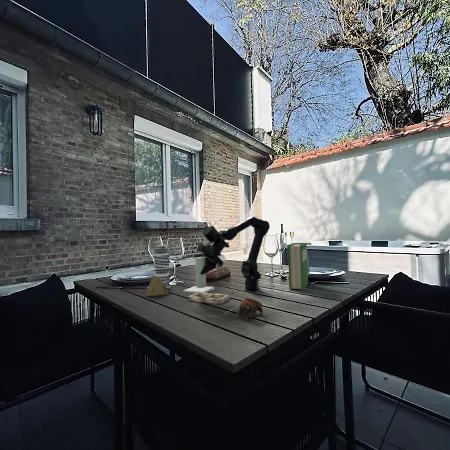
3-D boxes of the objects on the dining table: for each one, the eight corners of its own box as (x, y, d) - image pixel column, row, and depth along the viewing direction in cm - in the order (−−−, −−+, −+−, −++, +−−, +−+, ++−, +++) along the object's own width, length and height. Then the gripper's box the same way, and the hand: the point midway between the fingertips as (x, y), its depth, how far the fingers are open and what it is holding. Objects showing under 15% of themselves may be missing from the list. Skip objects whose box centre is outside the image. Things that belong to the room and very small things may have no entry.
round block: (207, 286, 140) (206, 257, 140) (202, 288, 136) (201, 258, 136) (199, 285, 142) (198, 257, 142) (194, 287, 138) (193, 258, 138)
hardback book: (303, 290, 152) (301, 245, 153) (289, 289, 155) (287, 245, 155) (307, 284, 169) (306, 242, 169) (295, 283, 172) (293, 242, 172)
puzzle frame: (229, 300, 138) (229, 295, 138) (220, 305, 129) (220, 299, 129) (198, 297, 145) (198, 292, 145) (188, 301, 137) (188, 296, 137)
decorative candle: (163, 290, 165) (161, 246, 165) (151, 288, 169) (149, 246, 169) (173, 286, 172) (172, 244, 173) (161, 285, 177) (160, 244, 177)
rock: (173, 288, 157) (159, 284, 161) (168, 278, 152) (153, 274, 156) (162, 304, 150) (147, 300, 154) (156, 293, 145) (141, 289, 149)
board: (214, 289, 161) (214, 287, 161) (203, 294, 150) (203, 291, 150) (195, 288, 166) (195, 285, 166) (184, 293, 156) (183, 290, 156)
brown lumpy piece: (233, 316, 115) (240, 296, 118) (254, 325, 116) (261, 305, 119) (241, 317, 104) (248, 295, 106) (264, 327, 105) (271, 305, 107)
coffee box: (298, 277, 190) (297, 252, 190) (308, 277, 189) (308, 252, 189) (299, 280, 181) (298, 254, 182) (310, 280, 180) (309, 254, 180)
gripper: (196, 237, 149) (177, 261, 142) (217, 238, 134) (197, 264, 127) (209, 251, 154) (192, 275, 147) (231, 253, 139) (213, 280, 132)
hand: (198, 273), depth 138 cm, fingers closed on round block, 5 cm apart
